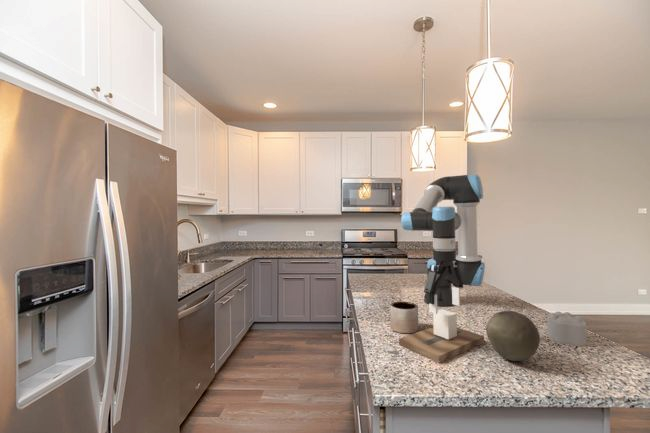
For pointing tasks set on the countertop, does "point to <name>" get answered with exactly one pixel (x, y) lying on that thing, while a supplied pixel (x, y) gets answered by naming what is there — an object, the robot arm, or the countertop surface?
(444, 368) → the countertop surface
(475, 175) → the robot arm
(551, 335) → the lumpy-topped squat cylinder
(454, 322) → the fader cap
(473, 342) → the fader board
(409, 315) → the planter
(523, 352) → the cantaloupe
